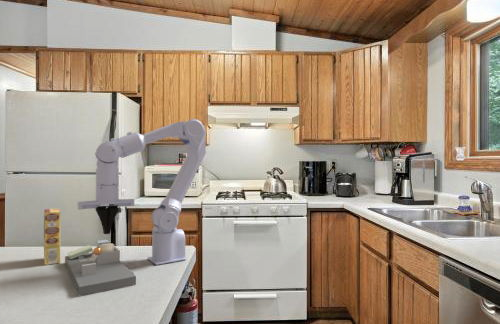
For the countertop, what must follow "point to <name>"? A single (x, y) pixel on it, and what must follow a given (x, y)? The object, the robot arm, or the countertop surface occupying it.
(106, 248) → the button
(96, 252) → the lever
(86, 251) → the block
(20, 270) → the countertop surface
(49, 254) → the candy box
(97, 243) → the block
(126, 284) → the panel
